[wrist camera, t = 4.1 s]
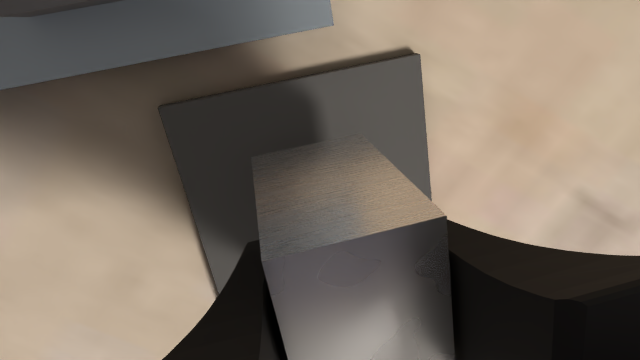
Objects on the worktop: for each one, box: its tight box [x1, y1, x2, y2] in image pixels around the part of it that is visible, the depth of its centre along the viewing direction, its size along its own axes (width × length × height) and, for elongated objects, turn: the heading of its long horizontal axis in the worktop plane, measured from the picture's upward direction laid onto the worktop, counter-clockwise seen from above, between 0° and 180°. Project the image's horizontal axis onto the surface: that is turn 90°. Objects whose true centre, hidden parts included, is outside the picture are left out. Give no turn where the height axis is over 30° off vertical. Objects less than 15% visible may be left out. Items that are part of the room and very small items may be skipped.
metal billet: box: [251, 133, 455, 360], centre depth 11 cm, size 4×6×6 cm, turn 10°
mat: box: [158, 53, 432, 294], centre depth 16 cm, size 9×9×1 cm
